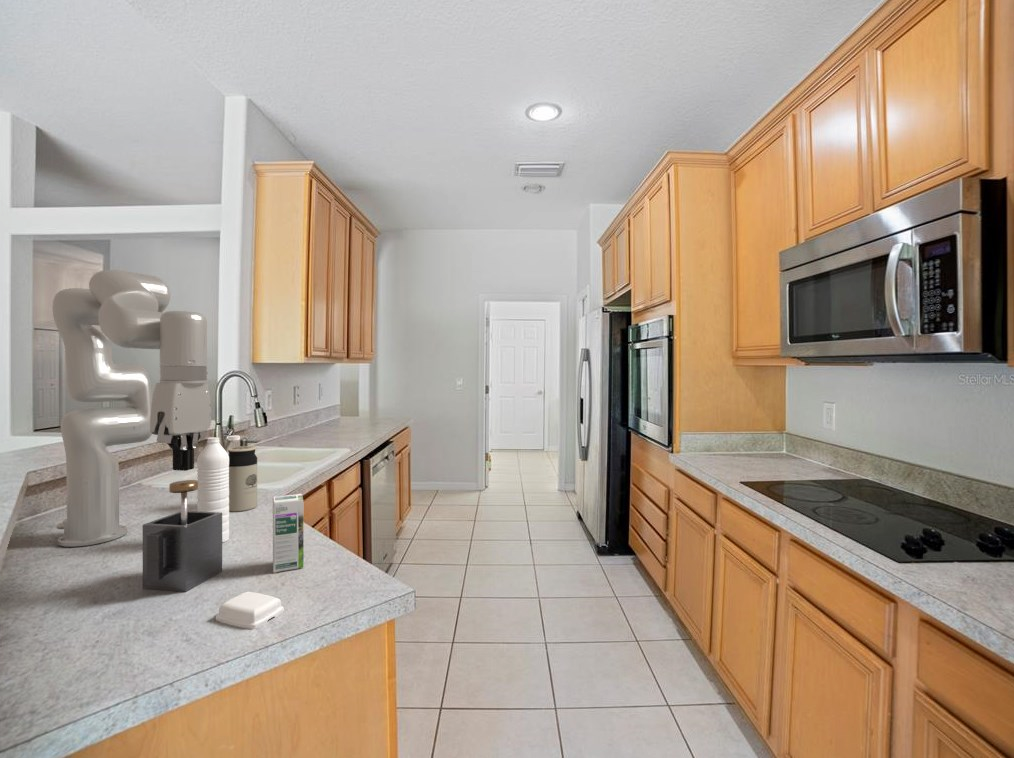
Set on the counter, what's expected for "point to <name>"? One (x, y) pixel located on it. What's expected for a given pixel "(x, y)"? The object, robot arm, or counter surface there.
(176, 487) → the plunger
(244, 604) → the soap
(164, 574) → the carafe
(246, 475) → the travel mug
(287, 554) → the syrup box
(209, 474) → the water bottle
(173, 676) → the counter surface
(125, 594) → the counter surface
